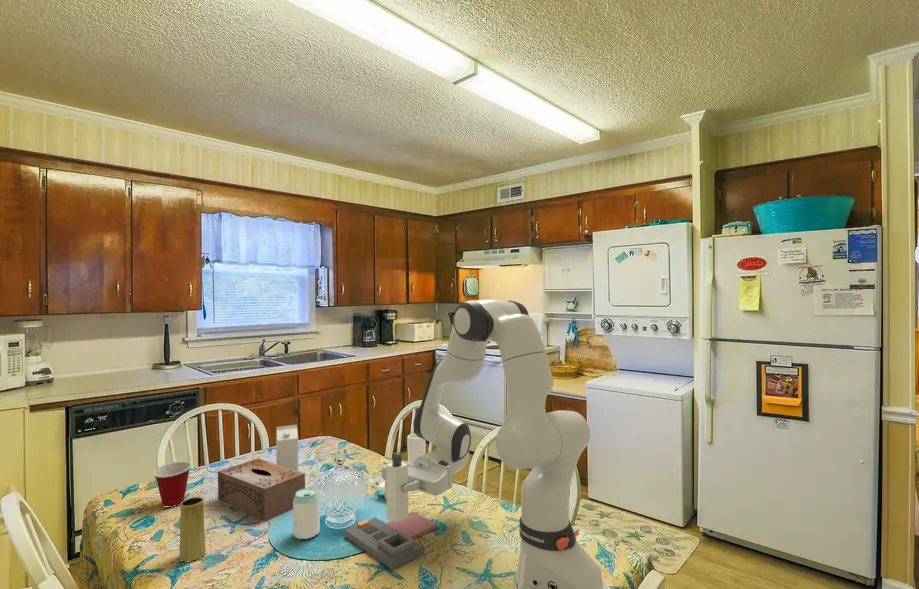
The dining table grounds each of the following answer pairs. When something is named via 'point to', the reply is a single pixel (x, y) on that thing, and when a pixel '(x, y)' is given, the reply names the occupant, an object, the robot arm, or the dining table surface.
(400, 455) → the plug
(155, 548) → the dining table surface
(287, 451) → the milk carton
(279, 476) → the tissue box cover
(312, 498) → the can
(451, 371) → the robot arm
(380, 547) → the power strip
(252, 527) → the dining table surface
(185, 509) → the vase
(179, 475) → the plastic cup
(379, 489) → the power adapter
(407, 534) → the rubber mat
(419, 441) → the drinking glass
